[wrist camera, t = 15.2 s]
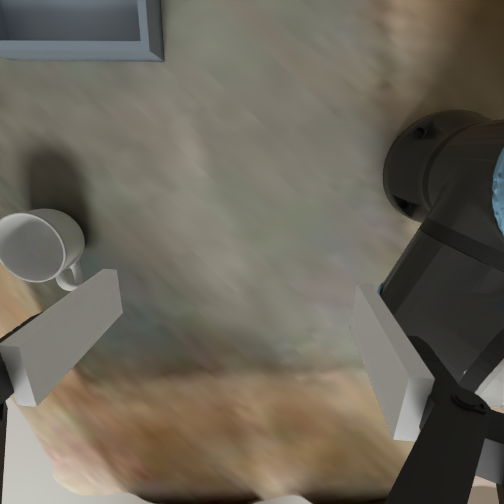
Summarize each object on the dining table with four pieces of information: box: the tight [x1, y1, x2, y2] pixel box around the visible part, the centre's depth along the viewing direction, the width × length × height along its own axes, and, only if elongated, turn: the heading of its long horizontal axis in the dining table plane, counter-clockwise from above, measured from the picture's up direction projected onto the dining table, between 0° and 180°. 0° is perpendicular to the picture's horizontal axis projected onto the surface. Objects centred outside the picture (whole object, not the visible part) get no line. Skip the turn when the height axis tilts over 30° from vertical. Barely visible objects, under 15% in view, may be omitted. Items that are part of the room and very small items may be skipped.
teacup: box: [0, 209, 85, 291], centre depth 47 cm, size 14×11×8 cm
